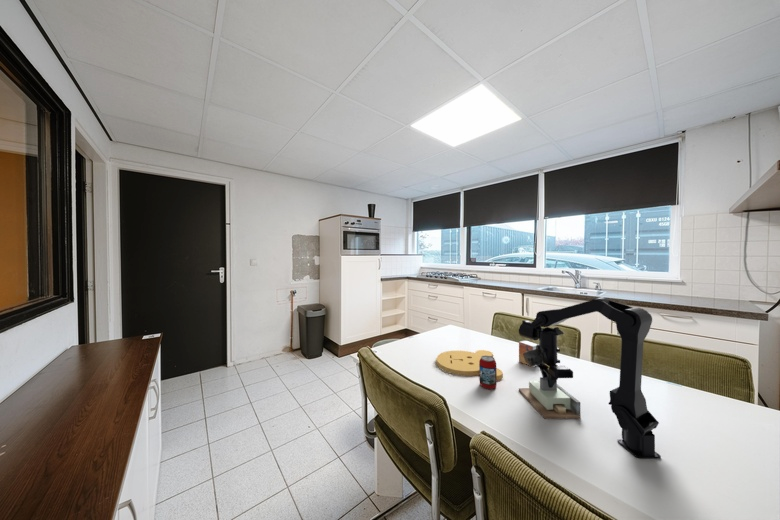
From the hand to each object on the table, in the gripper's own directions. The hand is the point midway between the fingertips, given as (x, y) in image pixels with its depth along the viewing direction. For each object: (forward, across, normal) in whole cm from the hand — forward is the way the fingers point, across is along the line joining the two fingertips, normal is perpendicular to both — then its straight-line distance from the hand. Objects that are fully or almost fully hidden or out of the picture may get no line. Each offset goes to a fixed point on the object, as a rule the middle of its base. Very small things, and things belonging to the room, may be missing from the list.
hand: (548, 385), depth 95 cm
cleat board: (+7, 0, -1) cm, 7 cm away
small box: (+7, -35, +11) cm, 37 cm away
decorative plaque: (+7, -35, -21) cm, 41 cm away
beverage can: (+7, -13, -18) cm, 23 cm away
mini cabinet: (+5, 0, 0) cm, 5 cm away
